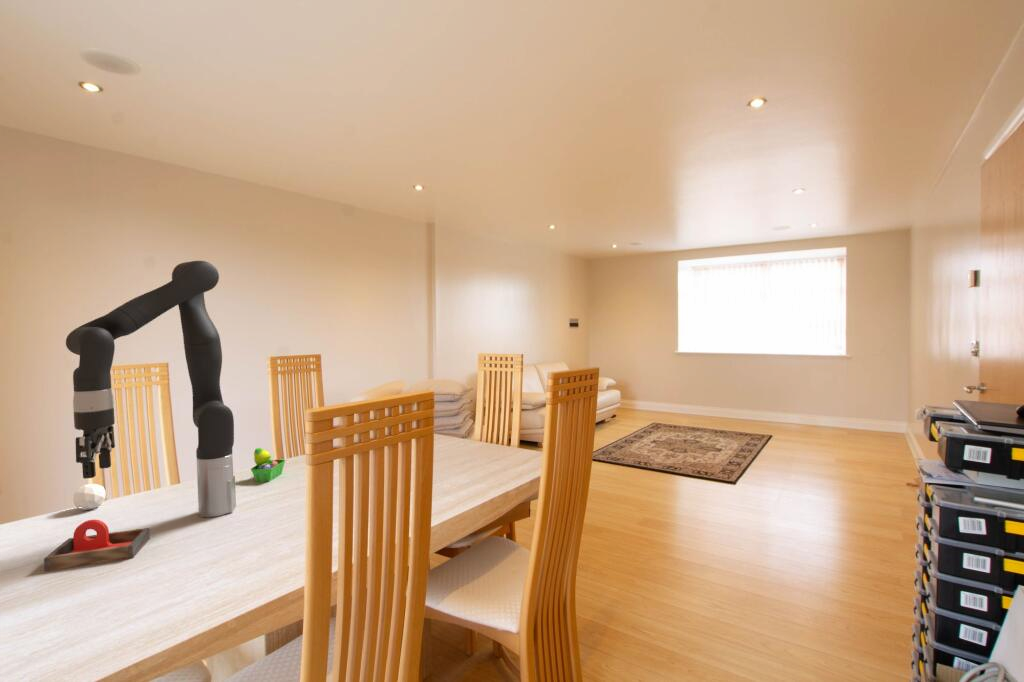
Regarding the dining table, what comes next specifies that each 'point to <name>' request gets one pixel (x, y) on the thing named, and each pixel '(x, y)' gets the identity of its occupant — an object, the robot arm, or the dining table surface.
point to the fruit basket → (266, 466)
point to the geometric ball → (89, 496)
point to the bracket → (97, 543)
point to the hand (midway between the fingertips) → (97, 472)
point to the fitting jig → (98, 550)
